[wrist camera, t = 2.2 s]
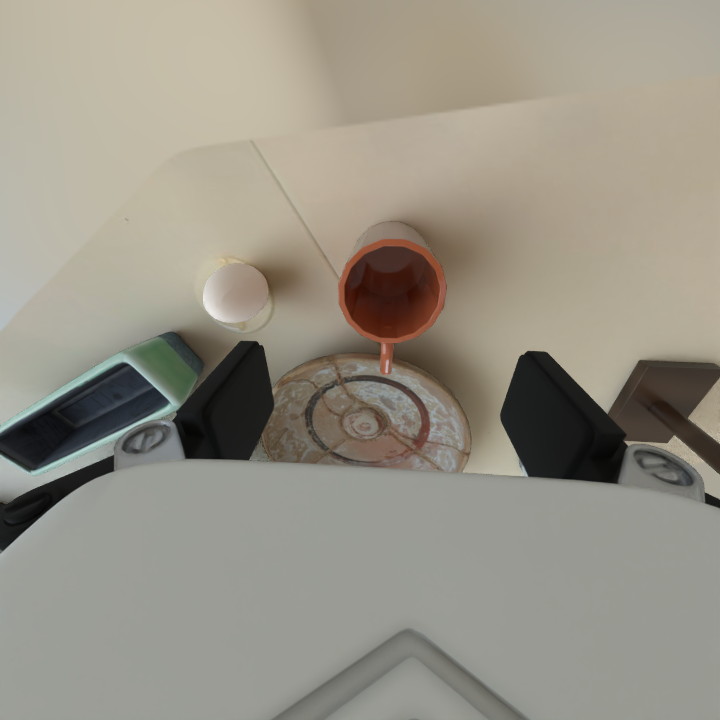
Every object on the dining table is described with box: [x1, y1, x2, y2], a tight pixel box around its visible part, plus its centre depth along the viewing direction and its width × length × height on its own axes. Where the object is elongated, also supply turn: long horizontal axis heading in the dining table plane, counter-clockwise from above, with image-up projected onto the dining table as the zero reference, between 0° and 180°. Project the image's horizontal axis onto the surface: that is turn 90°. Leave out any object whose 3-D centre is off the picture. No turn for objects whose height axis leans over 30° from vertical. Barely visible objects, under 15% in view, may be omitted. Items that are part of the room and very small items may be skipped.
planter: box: [0, 332, 203, 476], centre depth 34 cm, size 28×7×7 cm, turn 119°
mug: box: [338, 221, 447, 376], centre depth 23 cm, size 11×7×9 cm, turn 0°
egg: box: [203, 263, 268, 323], centre depth 25 cm, size 5×5×7 cm
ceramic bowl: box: [261, 353, 471, 473], centre depth 34 cm, size 23×24×5 cm
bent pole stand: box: [608, 361, 720, 474], centre depth 22 cm, size 10×15×24 cm, turn 90°
